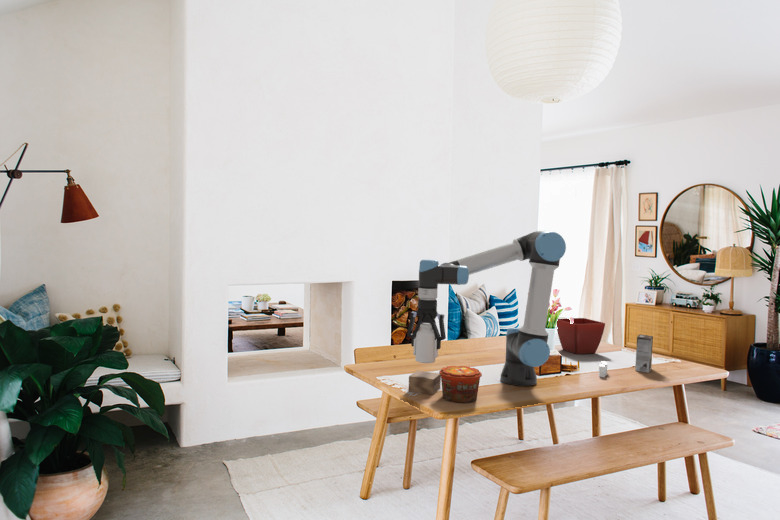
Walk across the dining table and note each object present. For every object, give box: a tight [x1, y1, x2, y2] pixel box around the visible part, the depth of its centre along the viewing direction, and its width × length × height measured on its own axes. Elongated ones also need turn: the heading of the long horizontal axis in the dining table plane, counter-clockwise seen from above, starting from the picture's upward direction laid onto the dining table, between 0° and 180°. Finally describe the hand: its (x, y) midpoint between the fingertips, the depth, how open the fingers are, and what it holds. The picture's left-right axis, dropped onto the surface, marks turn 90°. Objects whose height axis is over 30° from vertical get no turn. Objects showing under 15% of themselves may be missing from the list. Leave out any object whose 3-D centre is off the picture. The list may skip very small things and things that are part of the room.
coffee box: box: [634, 334, 654, 373], centre depth 266 cm, size 9×6×16 cm
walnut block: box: [408, 370, 442, 396], centre depth 222 cm, size 10×10×6 cm
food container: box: [438, 365, 483, 404], centre depth 212 cm, size 16×16×11 cm
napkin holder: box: [598, 360, 608, 378], centre depth 255 cm, size 15×11×6 cm
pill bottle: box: [414, 322, 436, 364], centre depth 221 cm, size 8×8×15 cm
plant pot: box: [556, 317, 606, 355], centre depth 304 cm, size 19×19×17 cm
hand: (425, 355), depth 221 cm, fingers closed on pill bottle, 8 cm apart
